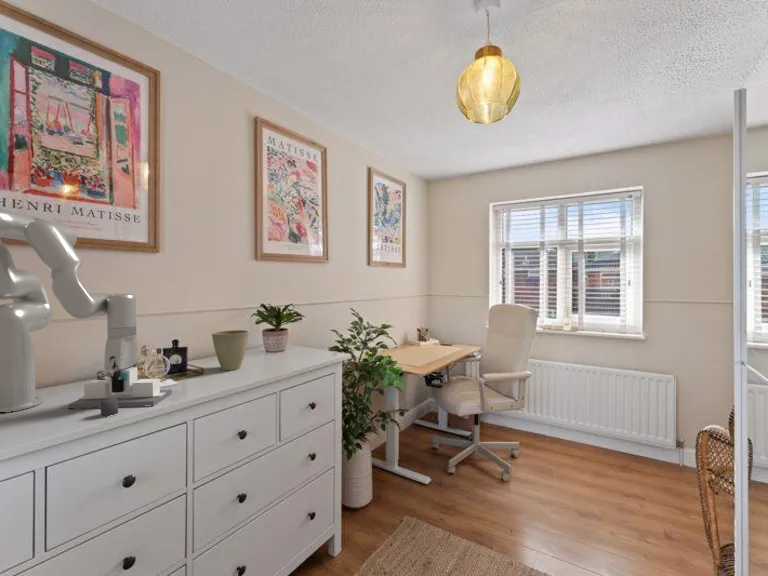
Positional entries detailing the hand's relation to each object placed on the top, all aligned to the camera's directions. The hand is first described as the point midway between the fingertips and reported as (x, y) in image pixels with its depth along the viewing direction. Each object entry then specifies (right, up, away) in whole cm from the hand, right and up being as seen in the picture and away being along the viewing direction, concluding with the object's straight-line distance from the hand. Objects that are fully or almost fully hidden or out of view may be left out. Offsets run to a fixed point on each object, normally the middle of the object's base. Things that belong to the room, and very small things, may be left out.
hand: (123, 388), depth 117 cm
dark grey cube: (+4, -4, -11) cm, 13 cm away
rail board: (0, -4, 0) cm, 4 cm away
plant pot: (+16, -3, +43) cm, 46 cm away
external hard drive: (0, -4, +16) cm, 16 cm away
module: (0, -1, 0) cm, 1 cm away
